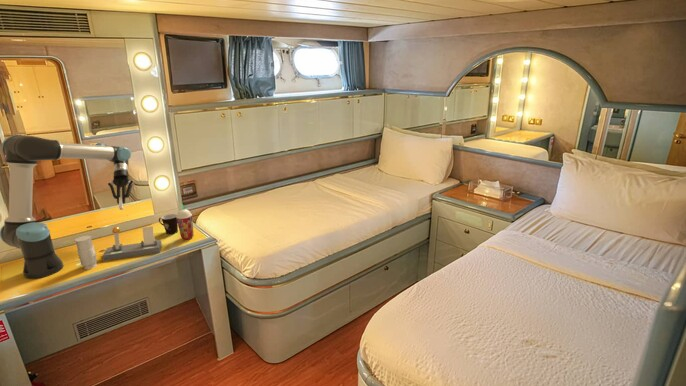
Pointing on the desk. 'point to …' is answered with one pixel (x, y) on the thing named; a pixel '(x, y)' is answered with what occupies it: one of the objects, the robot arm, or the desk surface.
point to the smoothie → (185, 224)
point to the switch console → (132, 250)
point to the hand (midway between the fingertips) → (121, 208)
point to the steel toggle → (116, 236)
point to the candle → (86, 252)
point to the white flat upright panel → (148, 235)
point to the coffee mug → (170, 223)
